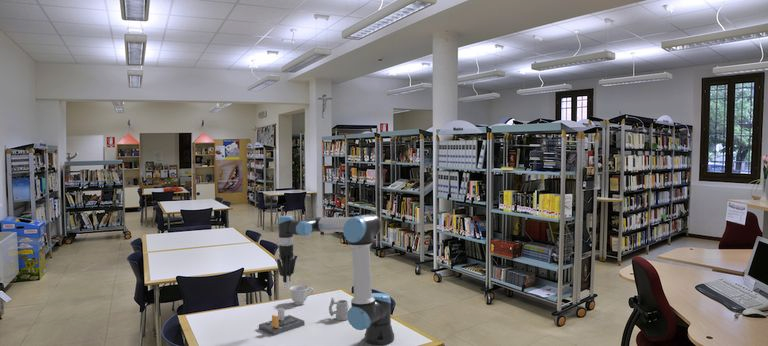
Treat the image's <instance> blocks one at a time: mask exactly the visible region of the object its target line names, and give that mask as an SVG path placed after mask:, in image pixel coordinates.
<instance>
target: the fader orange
mask: <svg viewBox="0 0 768 346" xmlns="http://www.w3.org/2000/svg"><path fill="white" fill-rule="evenodd" d="M271 321H272V327H275V328H278V327H279V316H278V314H274V313H273V314H272V315H271Z"/></svg>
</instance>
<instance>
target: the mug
mask: <svg viewBox="0 0 768 346" xmlns="http://www.w3.org/2000/svg"><path fill="white" fill-rule="evenodd" d="M334 305H336V307H335V309H336V310H335V311H334V310H333V306H334ZM349 306H350V305H349V301H348V300H347V299H346V300H345V299H339V300H337V301H335V299H334V297H331V301H330V304H329V306H328V311H329V312H328V313H329V315H330V316H331V317H333V316H334V315H335V318H336V320H337V321H340V322H341V321H348V319H347V313H348V311H349V309H350V307H349Z"/></svg>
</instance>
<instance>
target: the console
mask: <svg viewBox="0 0 768 346" xmlns="http://www.w3.org/2000/svg"><path fill="white" fill-rule="evenodd" d="M304 326H305V320H304V319H301V318H298V317H296V316H293V315H290V314H288V315H284V320H282V321H281V320H279V327H278V328H275V327H272V320H269V321H266V322H262V323H259V324H258V330H260V331H262V332H264V333H266V334H268V335H271V336H273V337H274V336H277V335H281V334H282V333H283V334H284V333H286V332H289V331H291V330H294V329H298V328H300V327H304Z"/></svg>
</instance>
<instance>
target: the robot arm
mask: <svg viewBox="0 0 768 346" xmlns="http://www.w3.org/2000/svg"><path fill="white" fill-rule="evenodd" d="M277 225H278V244H279V245H278V251H279V254H278V257H277V258H275V259H274V260H275V262H276V264H277V269H278V274H279V275H280V276H281V277H282V282H283V283H284V284H283V285H284V287H283V288H284V289H290V287H291V286H290V282H291V276H292V274H294V272H295V266H296V261H297V259H298V255H295V254H294V245H293V244H294V236H300V237H307V236H309V235H310V234H312V233H316V232H317V233H319V232H320V233H321V232H327V233H328V232H329V233H330V232H331V233H332V232H333V233H334V232H338V233H341V232H342V233H343V236H344V238H345V240H346V241H347V242H348V246H349V247H350V248H351V254H352V255H351V257H352V258H351V259H352V261H351V262H352V279H353V281H352V284H353V297H352V298H351V301H350V303H351V305H350V306H351V307H349V308H348V313H347V319H348V320H347V321H348V324H349V325H350V326H352V328H353V329H355V330H356V331H364V330H365V333H364V340H365V342H366V343H368V344H370V345H376V346H381V345H384V346H385V345H389V344H390V343H392V342H394V340H395V332H394V331H393V326H392V320H391V319H392V318H391V317H392V316H391V315H392V314H391V313H392V312H391V308H392V307H391V306H392V305H391V304H392V301H391V296H390V295H388V294H386V293H381V292H373V291H372V272H371V268H372V267H371V253H370V252H371V251H370V249H371V248H370V247H371V246H372V245H373V238H374V237H376V236H378V234H379V233H380V232H381V230H382V226H383V225H382V221H381V218H380V217H379V216H378V215H376V214H374V213H367V214H360V215H354V216H351V217H350V216H349V217H344V216H343V217H341V216H339V217H322V216H321V217H319V216H317V217H313V218H308V219H303V220H294V219H293V216H292V215H281V216H279V217H278V224H277Z"/></svg>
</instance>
